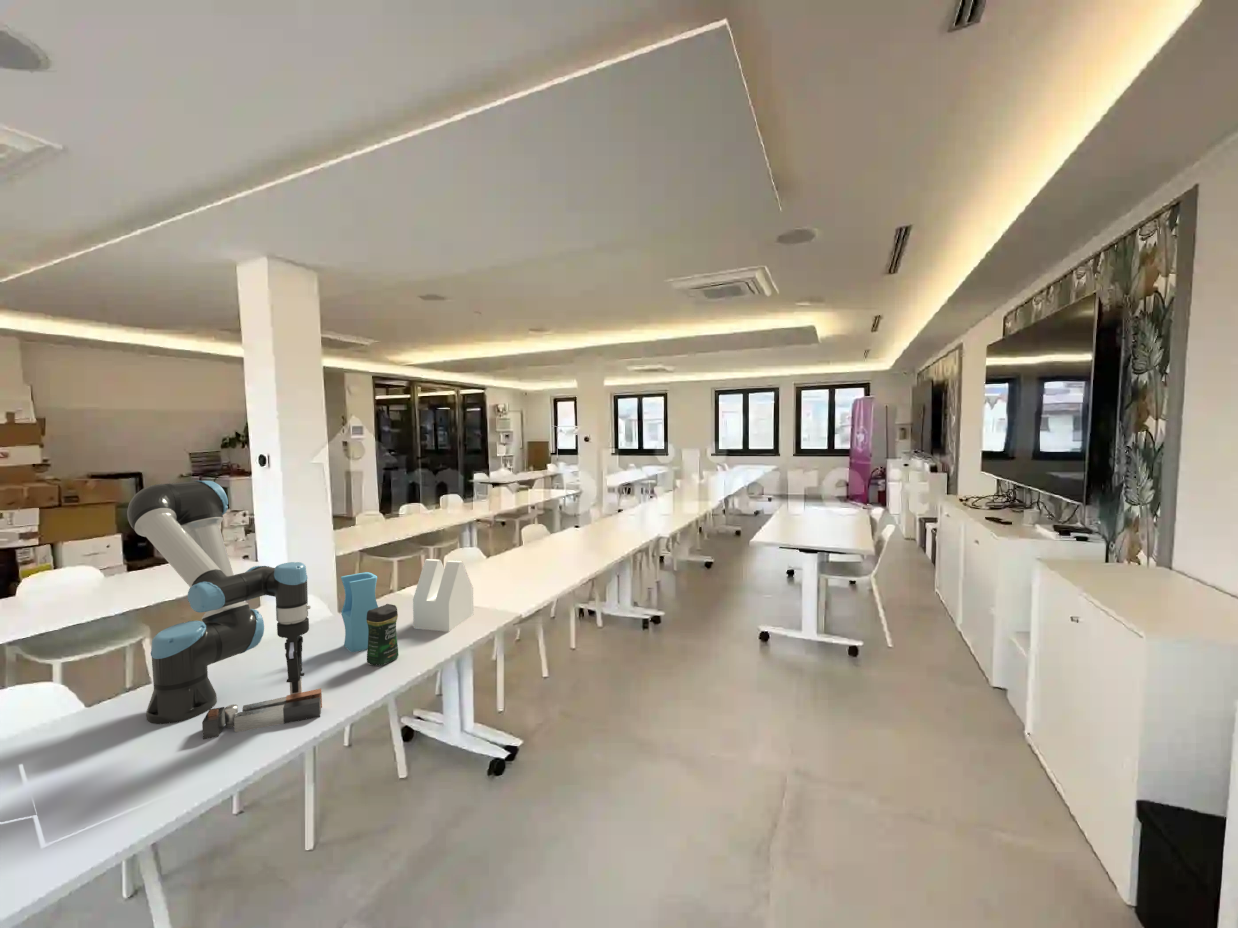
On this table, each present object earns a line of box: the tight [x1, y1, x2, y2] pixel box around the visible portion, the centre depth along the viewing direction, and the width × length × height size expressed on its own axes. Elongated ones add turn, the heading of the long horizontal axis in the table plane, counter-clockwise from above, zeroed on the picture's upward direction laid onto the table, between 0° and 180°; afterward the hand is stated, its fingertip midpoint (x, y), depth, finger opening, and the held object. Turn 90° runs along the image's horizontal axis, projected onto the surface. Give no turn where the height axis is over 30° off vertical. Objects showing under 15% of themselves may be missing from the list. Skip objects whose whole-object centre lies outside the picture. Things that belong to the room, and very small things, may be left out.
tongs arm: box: [224, 688, 323, 729], centre depth 147 cm, size 22×3×5 cm, turn 120°
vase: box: [340, 571, 379, 653], centre depth 194 cm, size 10×10×25 cm
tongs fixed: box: [201, 697, 322, 740], centre depth 144 cm, size 26×7×6 cm, turn 114°
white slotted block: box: [412, 558, 474, 633], centre depth 218 cm, size 19×15×25 cm
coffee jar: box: [366, 603, 399, 666], centre depth 182 cm, size 10×8×19 cm
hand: (296, 701), depth 152 cm, fingers closed
